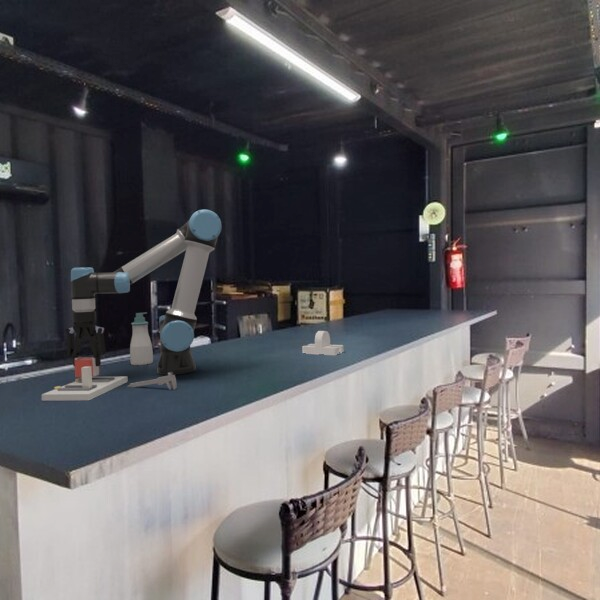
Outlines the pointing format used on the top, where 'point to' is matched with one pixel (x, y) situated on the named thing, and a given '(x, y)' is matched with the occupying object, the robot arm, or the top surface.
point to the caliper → (158, 381)
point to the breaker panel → (84, 389)
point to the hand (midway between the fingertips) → (87, 375)
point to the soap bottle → (140, 342)
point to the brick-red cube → (83, 365)
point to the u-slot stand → (322, 345)
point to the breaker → (86, 377)
